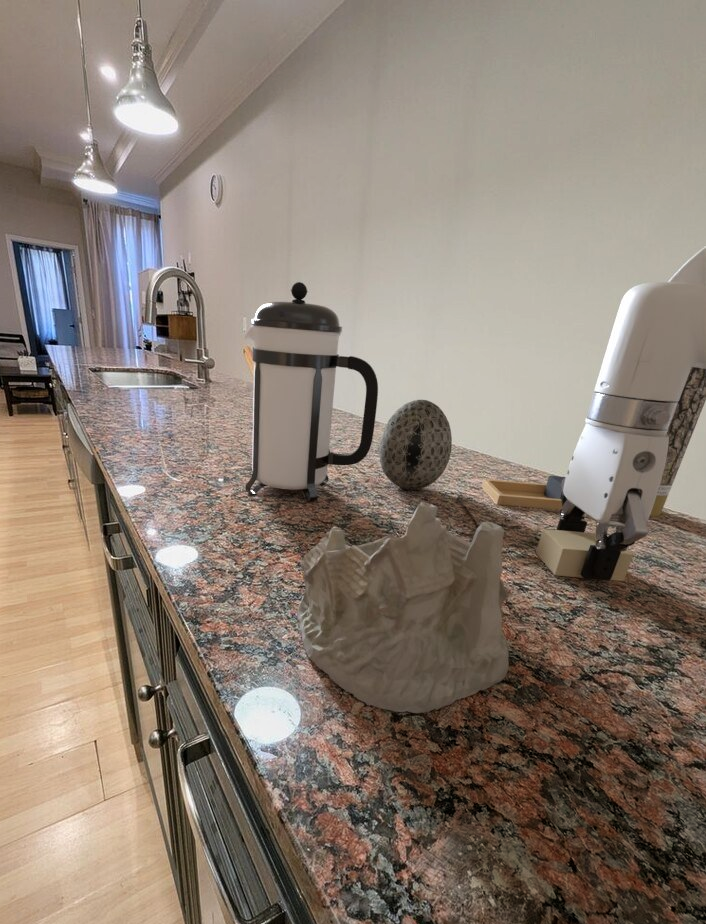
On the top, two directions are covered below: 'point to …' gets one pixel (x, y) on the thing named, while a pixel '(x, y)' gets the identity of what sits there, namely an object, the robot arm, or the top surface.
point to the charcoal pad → (554, 487)
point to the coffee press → (300, 395)
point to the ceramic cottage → (407, 614)
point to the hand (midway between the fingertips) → (579, 561)
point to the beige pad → (574, 553)
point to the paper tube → (681, 432)
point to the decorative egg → (415, 445)
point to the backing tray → (519, 494)
